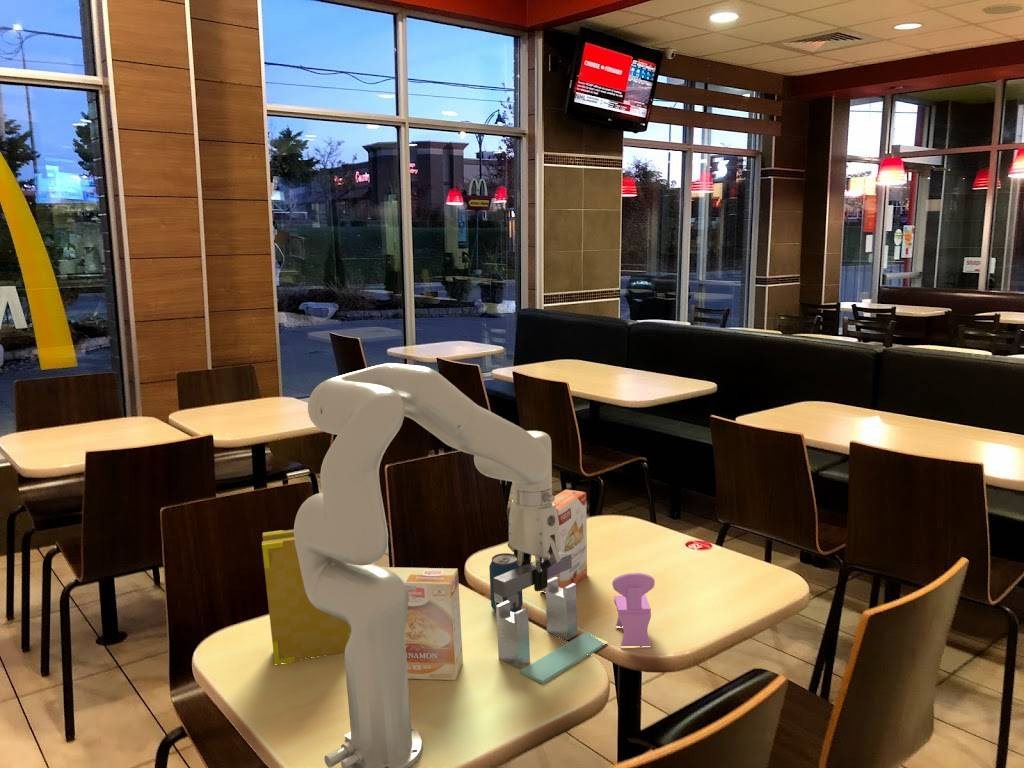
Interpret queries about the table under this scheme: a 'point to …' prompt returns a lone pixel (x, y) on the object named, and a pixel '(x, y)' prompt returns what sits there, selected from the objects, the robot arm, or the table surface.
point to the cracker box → (572, 534)
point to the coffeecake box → (432, 623)
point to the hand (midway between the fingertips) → (534, 585)
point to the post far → (561, 609)
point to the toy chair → (633, 607)
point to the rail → (527, 575)
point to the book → (296, 606)
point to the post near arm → (513, 635)
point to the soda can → (501, 566)
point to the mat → (562, 658)
